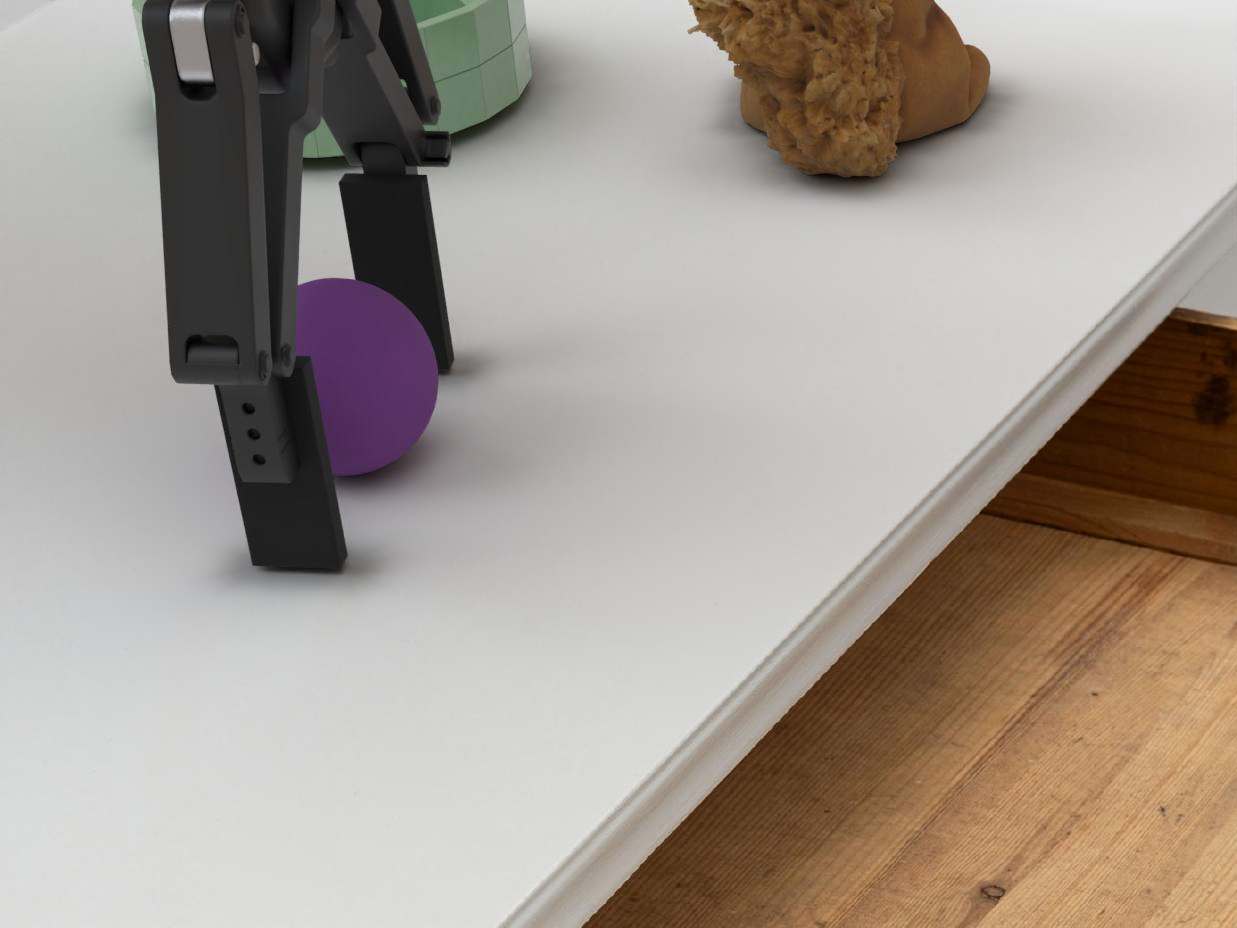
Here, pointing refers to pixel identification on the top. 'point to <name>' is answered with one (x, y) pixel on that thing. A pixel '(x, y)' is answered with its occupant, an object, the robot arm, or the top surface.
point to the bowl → (447, 62)
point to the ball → (366, 371)
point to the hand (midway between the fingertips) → (360, 457)
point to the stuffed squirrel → (845, 76)
